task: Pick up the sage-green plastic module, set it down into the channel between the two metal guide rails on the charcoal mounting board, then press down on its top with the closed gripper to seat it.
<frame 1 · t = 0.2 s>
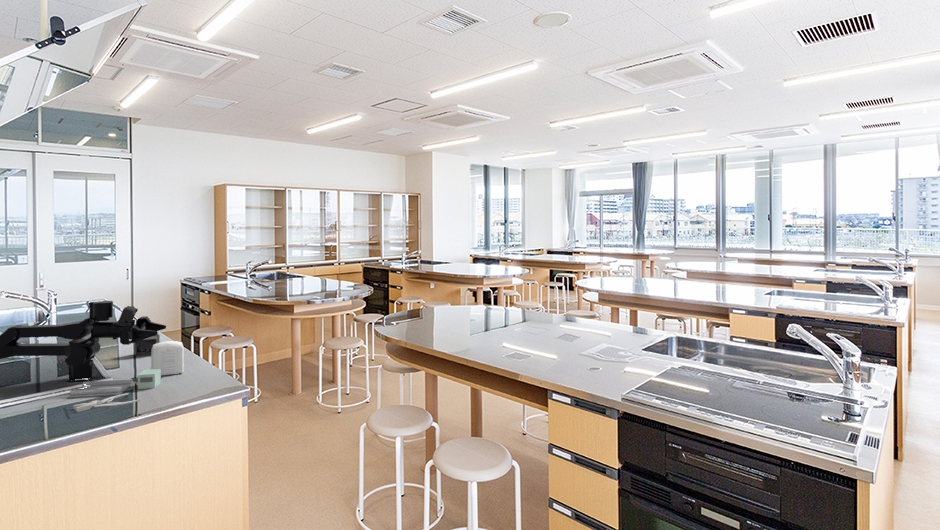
hand: (161, 329, 176), 17 cm above the countertop, tool horizontal, fingers open, 9 cm apart
photo printer: (168, 374, 178), on the countertop
electrical switch: (147, 355, 203), on the countertop
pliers: (105, 405, 148), on the countertop
green module: (149, 386, 165), on the countertop
mounting board: (102, 390, 159), on the countertop
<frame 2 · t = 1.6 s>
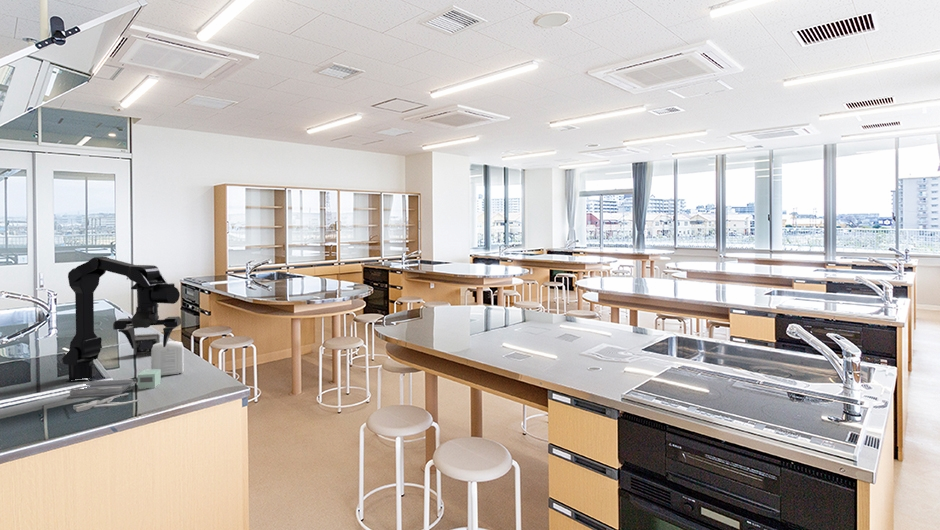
hand: (149, 347, 164), 13 cm above the countertop, tool pointing down, fingers open, 9 cm apart
nothing on the countertop moved.
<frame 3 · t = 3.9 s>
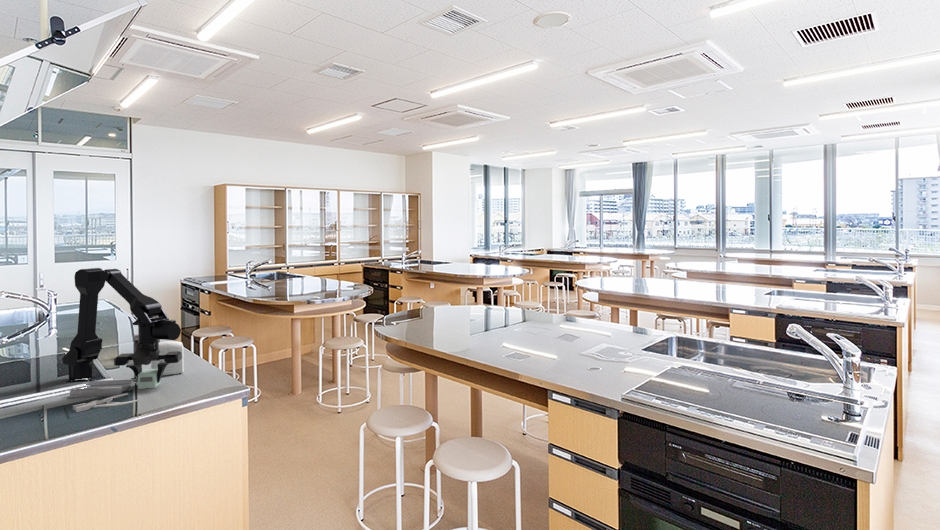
hand: (149, 382, 165), 1 cm above the countertop, tool pointing down, fingers closed on green module, 5 cm apart
green module: (149, 385, 165), on the countertop, touching gripper
everything else where it was.
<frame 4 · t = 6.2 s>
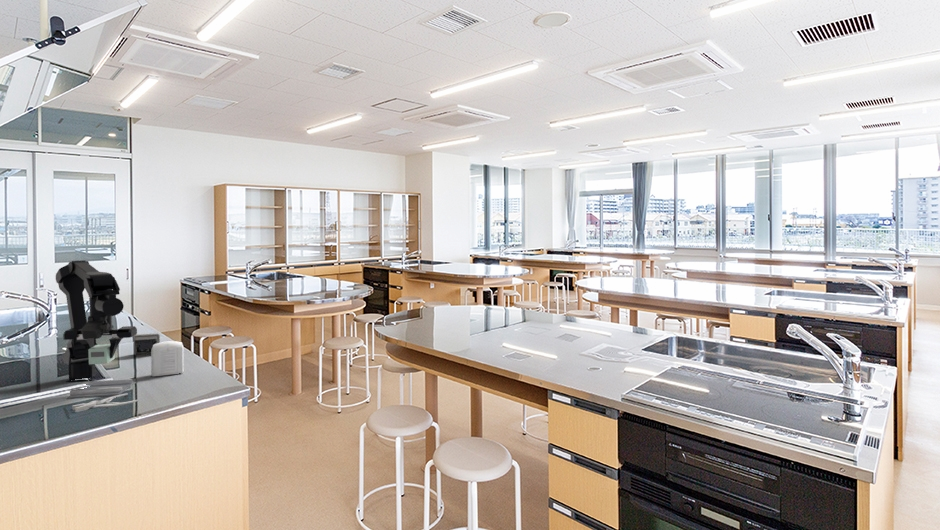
hand: (102, 358, 158), 11 cm above the countertop, tool pointing down, fingers closed on green module, 5 cm apart
green module: (102, 361, 159), point 10 cm above the countertop, touching gripper
everything else where it was.
when the fingers open (2 cm above the countertop, at t = 8.5 s): green module stays where it is, resting on mounting board.
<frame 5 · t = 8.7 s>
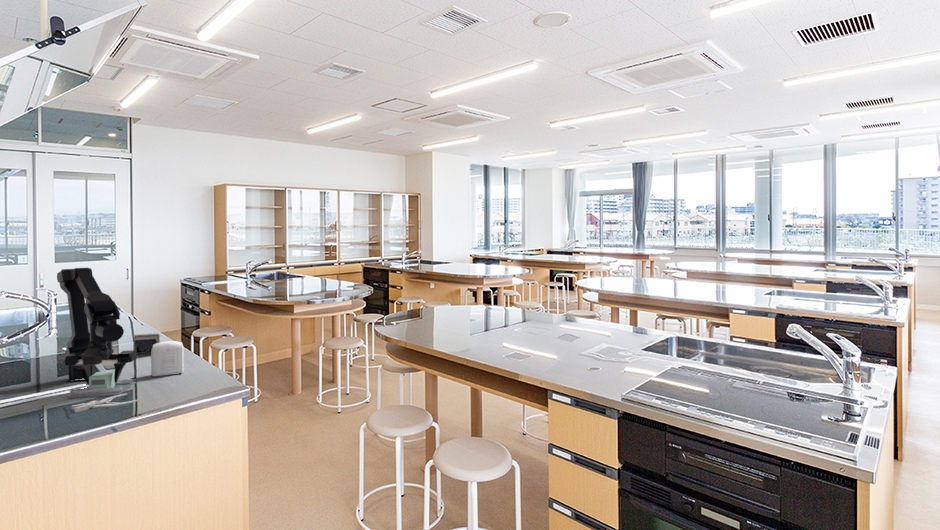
hand: (102, 382, 159), 2 cm above the countertop, tool pointing down, fingers open, 7 cm apart
green module: (102, 388, 159), resting on mounting board
everything else where it was.
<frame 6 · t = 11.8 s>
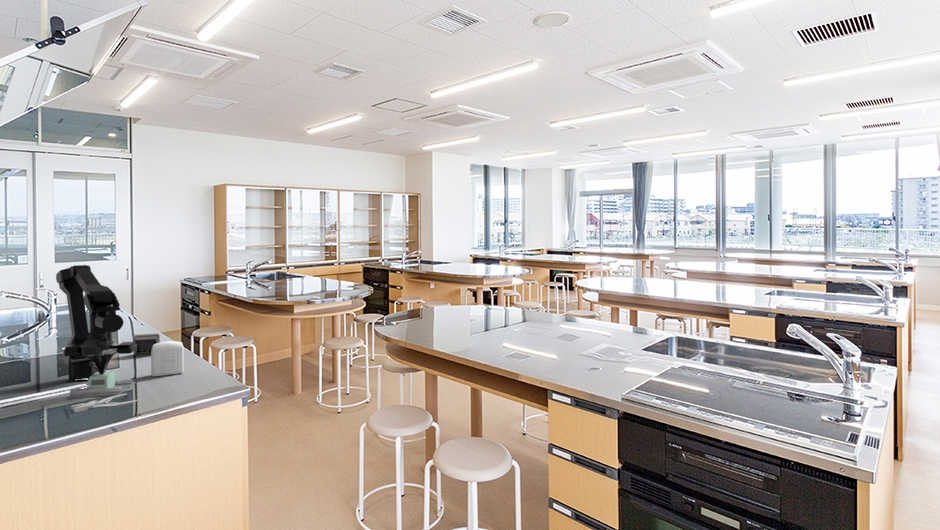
hand: (102, 374, 159), 5 cm above the countertop, tool pointing down, fingers closed, pressing on green module
green module: (102, 388, 159), resting on mounting board, touching gripper
everything else where it was.
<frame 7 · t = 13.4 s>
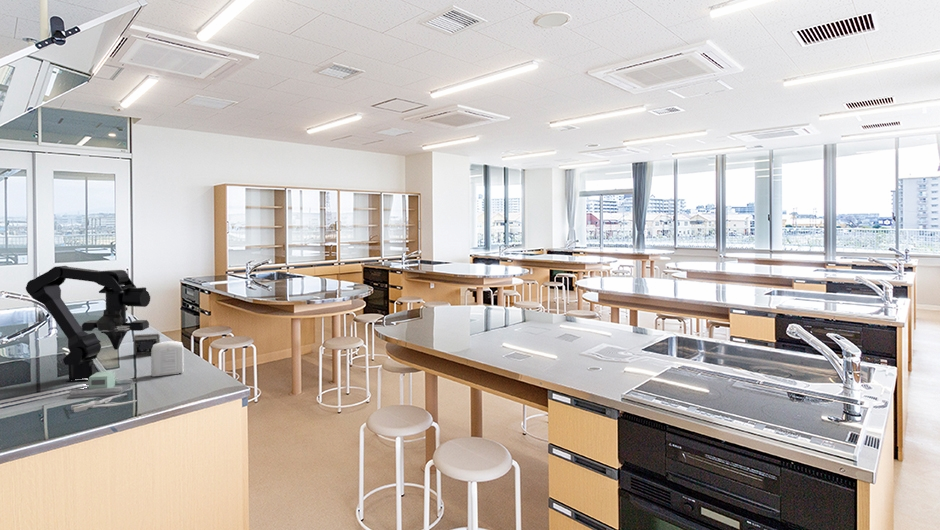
hand: (116, 349, 170), 11 cm above the countertop, tool pointing down, fingers closed
green module: (102, 388, 159), resting on mounting board
everything else where it was.
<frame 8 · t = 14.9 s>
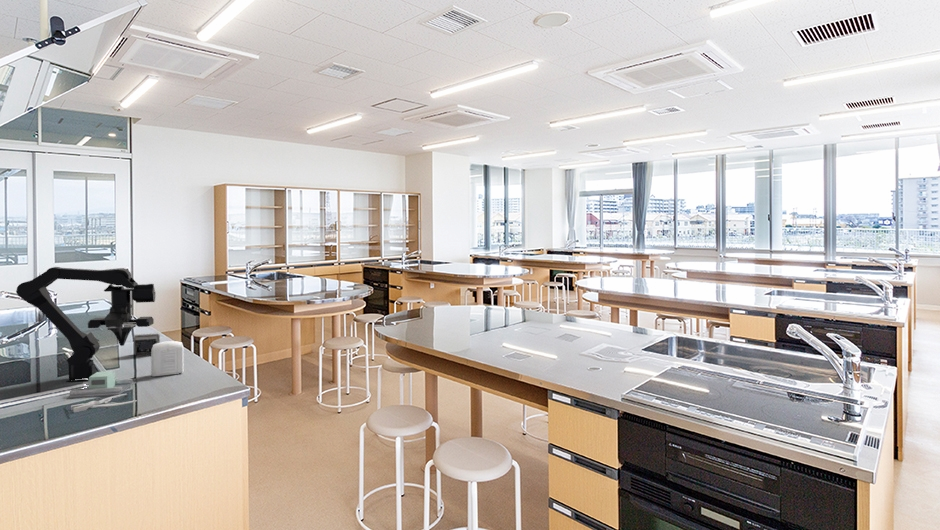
hand: (122, 345, 175), 11 cm above the countertop, tool pointing down, fingers closed
nothing on the countertop moved.
at the end: green module 0.0 cm off-centre on the mounting board, point 0.5 cm above the mounting board's base; green module tilted 0°; the gripper is holding nothing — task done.
